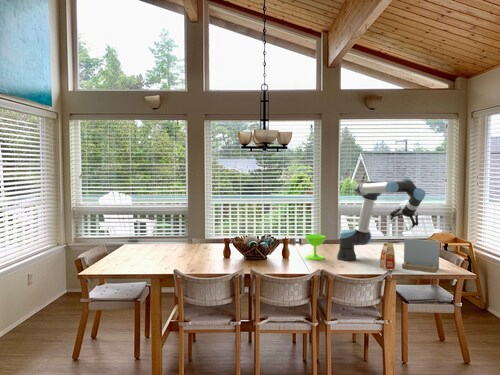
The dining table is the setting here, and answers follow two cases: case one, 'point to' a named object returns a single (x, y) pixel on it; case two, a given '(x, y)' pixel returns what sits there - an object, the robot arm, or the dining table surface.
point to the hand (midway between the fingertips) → (399, 225)
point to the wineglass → (315, 241)
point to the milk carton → (387, 257)
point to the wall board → (421, 255)
